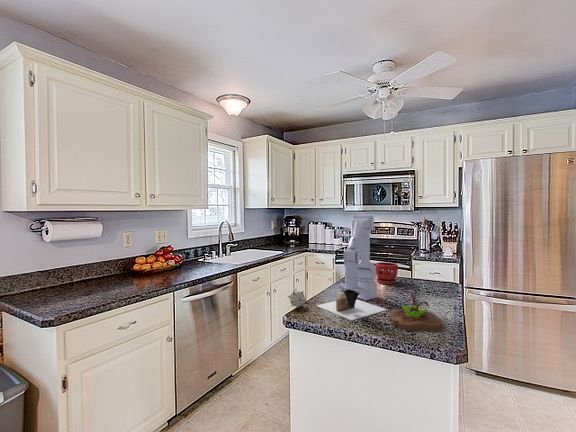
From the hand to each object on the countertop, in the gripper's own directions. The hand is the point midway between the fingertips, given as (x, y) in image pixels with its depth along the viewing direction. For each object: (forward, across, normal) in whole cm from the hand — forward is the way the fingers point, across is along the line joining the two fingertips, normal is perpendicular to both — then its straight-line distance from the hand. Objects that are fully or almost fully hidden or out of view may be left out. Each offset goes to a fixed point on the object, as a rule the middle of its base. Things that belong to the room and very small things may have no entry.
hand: (351, 306), depth 137 cm
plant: (+4, +21, +15) cm, 26 cm away
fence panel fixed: (+3, -9, +6) cm, 11 cm away
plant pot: (+3, -27, +59) cm, 65 cm away
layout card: (+3, -6, +5) cm, 8 cm away
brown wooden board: (+2, -5, +1) cm, 6 cm away
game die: (+3, -21, -14) cm, 26 cm away
